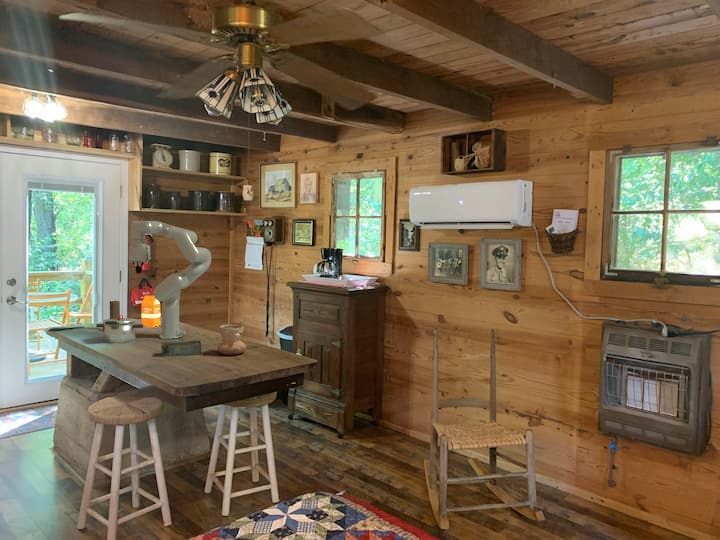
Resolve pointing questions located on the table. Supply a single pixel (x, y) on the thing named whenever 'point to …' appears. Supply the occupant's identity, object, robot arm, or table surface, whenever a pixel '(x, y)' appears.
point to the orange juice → (150, 311)
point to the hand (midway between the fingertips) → (138, 273)
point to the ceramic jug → (231, 340)
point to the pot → (120, 332)
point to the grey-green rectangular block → (181, 348)
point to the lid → (119, 320)
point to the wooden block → (114, 310)
